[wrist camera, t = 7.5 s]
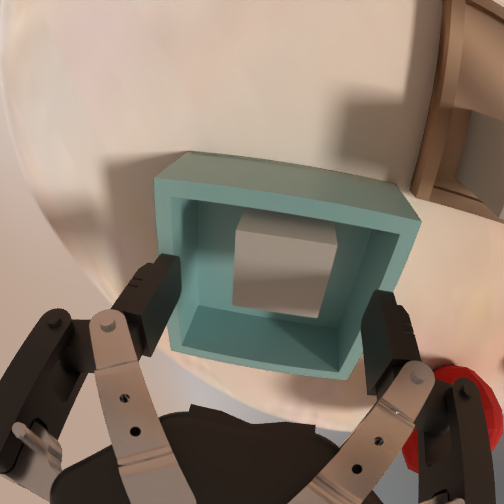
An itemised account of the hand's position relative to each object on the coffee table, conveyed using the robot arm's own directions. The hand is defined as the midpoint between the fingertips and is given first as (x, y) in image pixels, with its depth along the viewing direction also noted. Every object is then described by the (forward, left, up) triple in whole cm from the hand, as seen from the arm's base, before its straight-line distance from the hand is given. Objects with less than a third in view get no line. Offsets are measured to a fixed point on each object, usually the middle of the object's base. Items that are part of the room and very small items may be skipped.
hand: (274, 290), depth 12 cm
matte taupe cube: (0, 0, -6) cm, 6 cm away
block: (-7, +11, -6) cm, 14 cm away
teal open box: (+2, 0, -6) cm, 7 cm away
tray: (-10, +11, -6) cm, 16 cm away
